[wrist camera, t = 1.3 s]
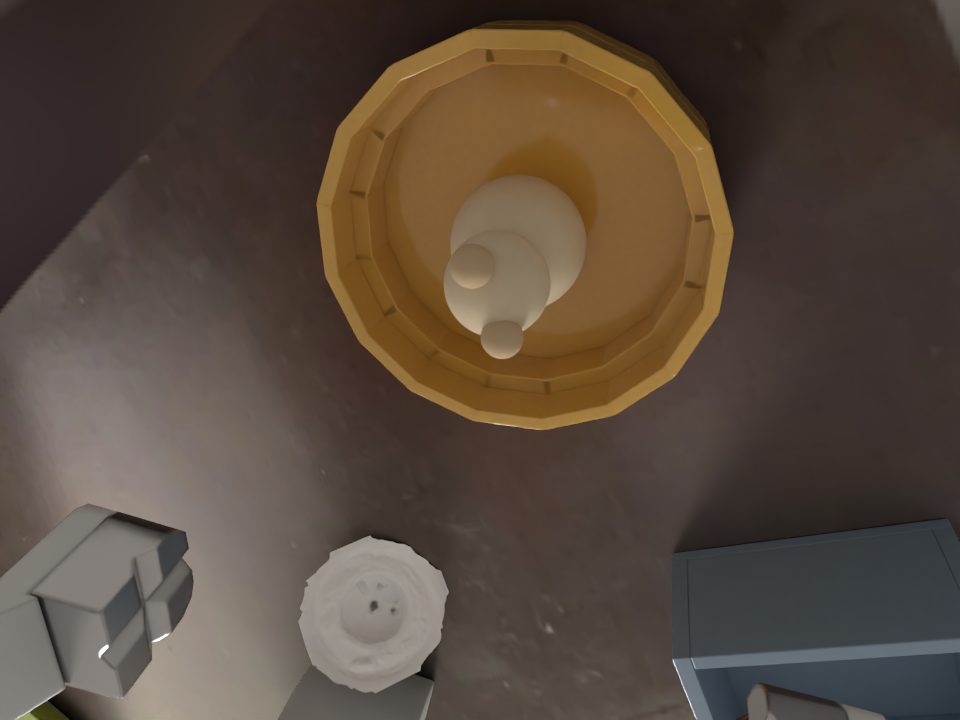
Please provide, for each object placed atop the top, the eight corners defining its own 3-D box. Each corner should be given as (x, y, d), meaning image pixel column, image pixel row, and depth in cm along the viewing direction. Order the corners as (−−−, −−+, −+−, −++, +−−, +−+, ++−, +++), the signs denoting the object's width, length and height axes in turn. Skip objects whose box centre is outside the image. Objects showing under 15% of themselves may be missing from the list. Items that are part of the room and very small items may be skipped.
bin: (947, 517, 32) (1006, 635, 27) (978, 712, 37) (1033, 845, 32) (671, 552, 37) (671, 659, 31) (733, 721, 42) (743, 838, 36)
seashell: (388, 533, 46) (270, 580, 42) (419, 514, 42) (292, 565, 38) (435, 652, 45) (317, 716, 40) (472, 646, 40) (346, 715, 36)
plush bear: (568, 141, 27) (530, 208, 20) (608, 261, 29) (588, 363, 22) (449, 184, 29) (376, 260, 22) (495, 294, 31) (441, 398, 24)
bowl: (660, -56, 24) (659, -58, 20) (760, 329, 30) (773, 383, 26) (302, 107, 30) (248, 129, 26) (444, 403, 36) (417, 456, 32)
